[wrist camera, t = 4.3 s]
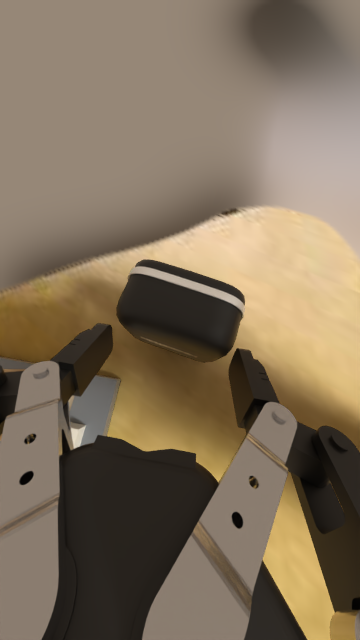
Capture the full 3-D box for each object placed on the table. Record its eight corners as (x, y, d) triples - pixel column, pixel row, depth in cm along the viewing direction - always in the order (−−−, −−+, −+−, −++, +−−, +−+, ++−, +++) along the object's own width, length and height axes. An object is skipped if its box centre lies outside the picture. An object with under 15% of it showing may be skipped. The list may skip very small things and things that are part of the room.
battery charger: (141, 345, 19) (92, 314, 8) (154, 314, 20) (126, 246, 9) (202, 368, 18) (242, 368, 7) (213, 334, 19) (261, 289, 8)
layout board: (121, 379, 18) (112, 380, 16) (66, 591, 14) (44, 637, 11) (-28, 351, 18) (-57, 348, 16) (-125, 548, 14) (-184, 583, 12)
